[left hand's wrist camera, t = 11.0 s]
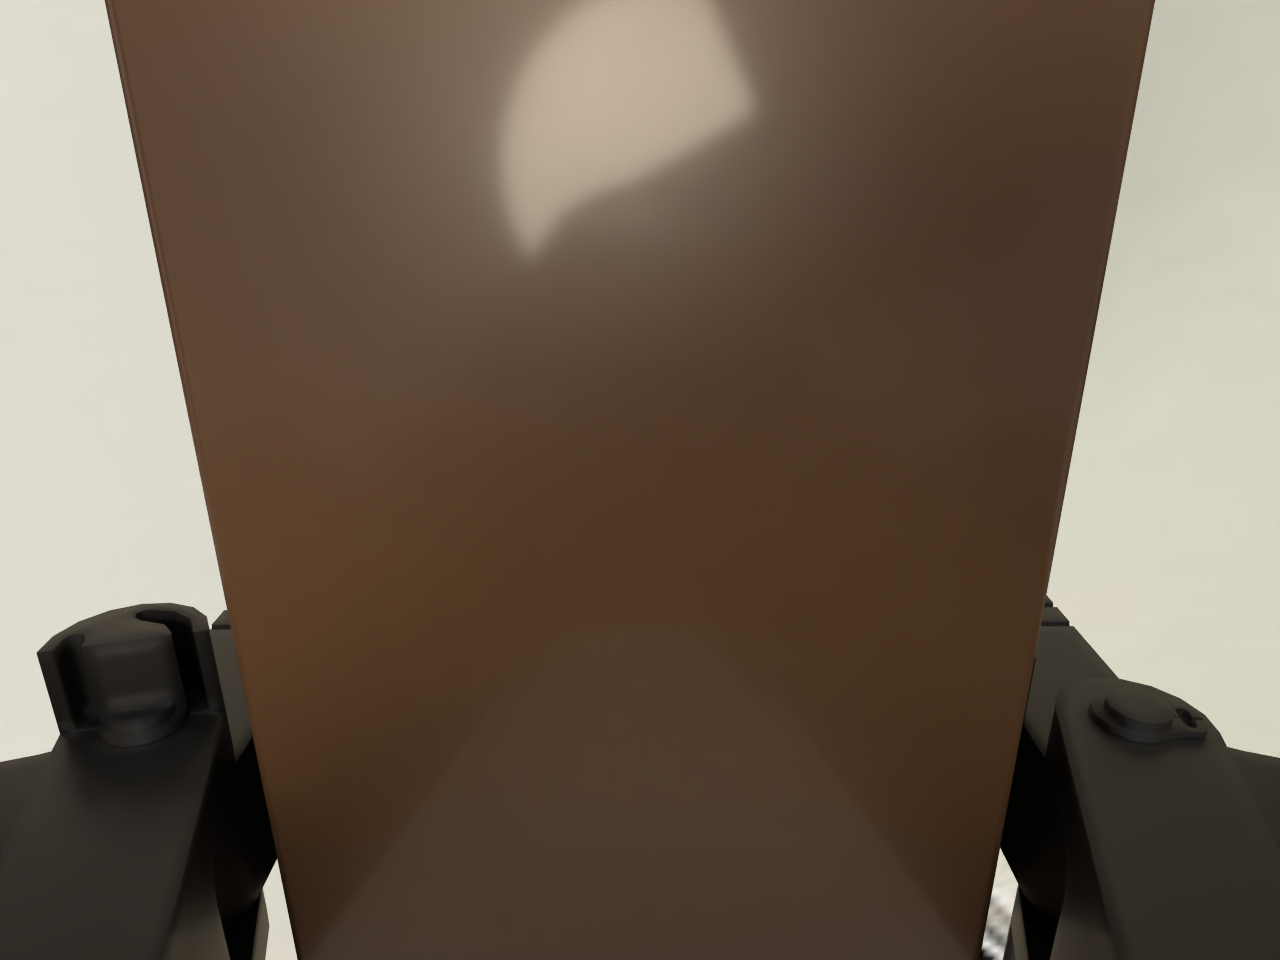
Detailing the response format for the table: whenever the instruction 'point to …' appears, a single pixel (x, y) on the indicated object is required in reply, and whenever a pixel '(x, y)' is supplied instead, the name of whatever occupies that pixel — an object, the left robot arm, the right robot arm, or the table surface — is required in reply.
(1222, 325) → the table surface
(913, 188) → the beam
